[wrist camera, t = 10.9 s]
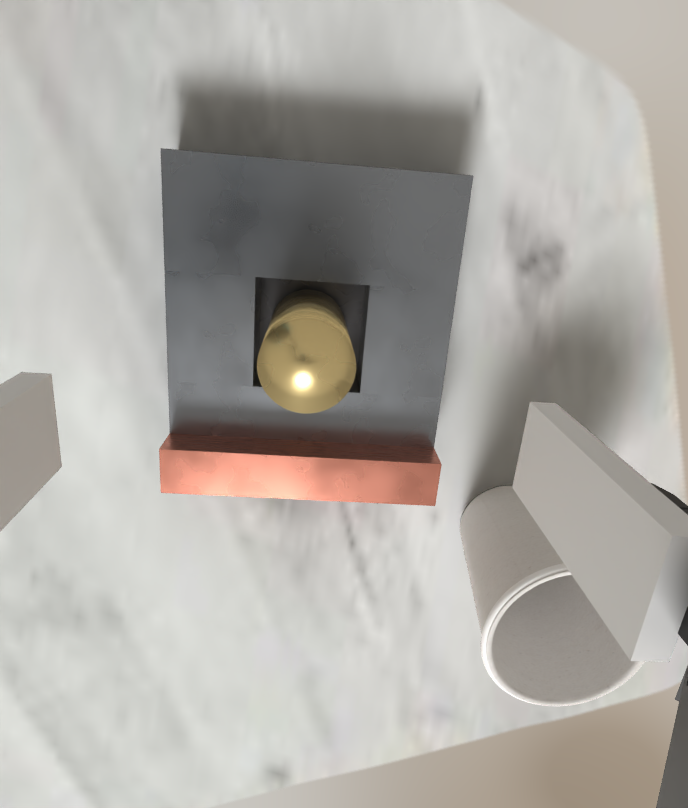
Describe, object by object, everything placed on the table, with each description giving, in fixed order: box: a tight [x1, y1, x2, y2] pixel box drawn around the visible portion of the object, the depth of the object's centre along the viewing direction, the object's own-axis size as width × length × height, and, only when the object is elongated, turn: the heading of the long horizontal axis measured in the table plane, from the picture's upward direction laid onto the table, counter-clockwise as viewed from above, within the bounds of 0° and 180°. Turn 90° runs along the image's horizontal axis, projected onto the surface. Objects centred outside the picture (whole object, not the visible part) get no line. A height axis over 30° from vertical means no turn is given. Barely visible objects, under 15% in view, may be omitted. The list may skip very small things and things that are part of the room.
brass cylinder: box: [257, 289, 356, 414], centre depth 26 cm, size 4×4×8 cm
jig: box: [159, 148, 473, 506], centre depth 28 cm, size 16×14×5 cm
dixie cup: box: [460, 486, 645, 706], centre depth 30 cm, size 8×8×10 cm
